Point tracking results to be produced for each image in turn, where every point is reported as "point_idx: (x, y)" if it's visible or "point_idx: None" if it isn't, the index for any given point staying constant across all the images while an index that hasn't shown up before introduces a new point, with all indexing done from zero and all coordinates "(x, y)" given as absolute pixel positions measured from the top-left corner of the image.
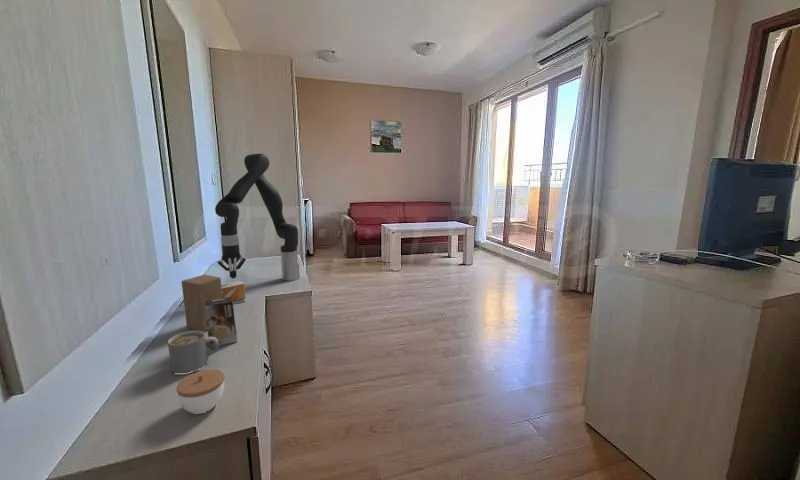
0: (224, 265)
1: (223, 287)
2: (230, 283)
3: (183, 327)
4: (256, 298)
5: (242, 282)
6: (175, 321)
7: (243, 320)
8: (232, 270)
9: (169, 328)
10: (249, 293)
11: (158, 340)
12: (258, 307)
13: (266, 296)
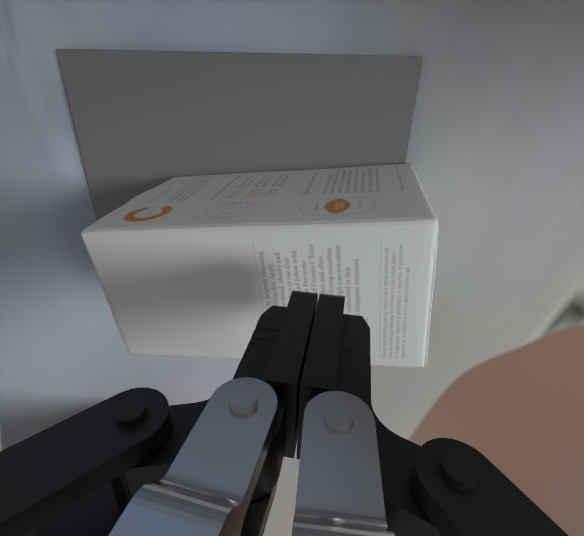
0: (22, 515)
1: (194, 349)
2: (284, 269)
3: (62, 408)
4: (483, 299)
5: (427, 316)
6: (10, 330)
7: (285, 499)
8: (276, 483)
9: (10, 382)
10: (518, 120)
11: (7, 443)
12: (404, 437)
13: (574, 311)
